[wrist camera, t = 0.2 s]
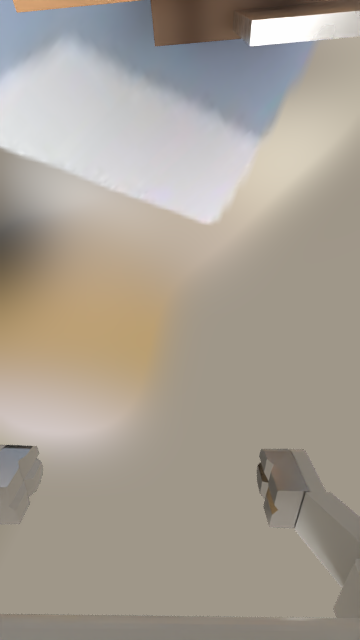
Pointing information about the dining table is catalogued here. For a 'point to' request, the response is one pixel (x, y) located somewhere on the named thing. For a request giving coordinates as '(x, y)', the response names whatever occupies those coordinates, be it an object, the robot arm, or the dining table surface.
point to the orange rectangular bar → (57, 4)
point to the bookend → (298, 22)
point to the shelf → (203, 18)
